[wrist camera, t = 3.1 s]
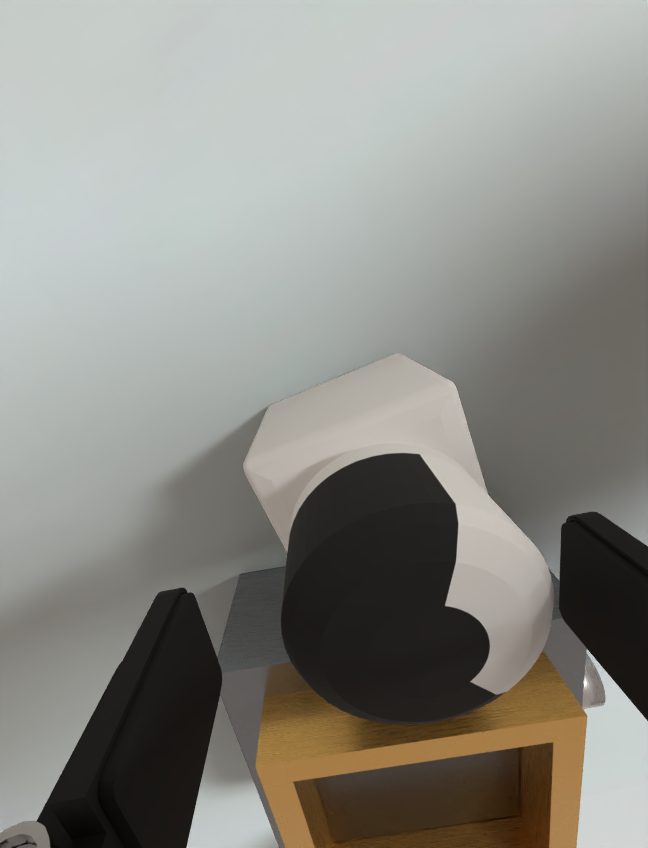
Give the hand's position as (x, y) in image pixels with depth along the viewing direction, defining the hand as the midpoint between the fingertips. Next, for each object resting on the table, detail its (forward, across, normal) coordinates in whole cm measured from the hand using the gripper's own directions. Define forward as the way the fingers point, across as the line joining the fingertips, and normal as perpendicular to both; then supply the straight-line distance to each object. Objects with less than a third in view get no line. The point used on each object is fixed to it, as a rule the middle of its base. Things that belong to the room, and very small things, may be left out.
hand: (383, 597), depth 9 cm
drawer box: (+10, -2, +15) cm, 18 cm away
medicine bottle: (+10, -1, 0) cm, 10 cm away
